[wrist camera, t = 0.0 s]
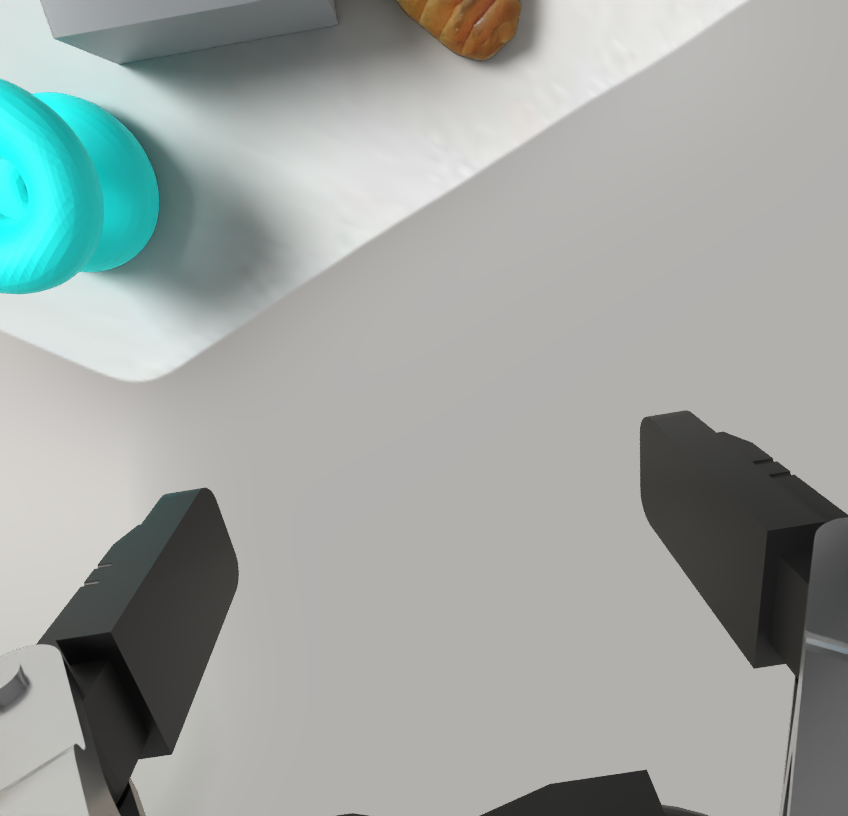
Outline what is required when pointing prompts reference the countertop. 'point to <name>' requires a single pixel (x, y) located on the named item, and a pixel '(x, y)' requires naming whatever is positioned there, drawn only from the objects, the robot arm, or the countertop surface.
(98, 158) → the donuts
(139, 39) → the square board with knob
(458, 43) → the pastry
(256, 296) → the countertop surface
